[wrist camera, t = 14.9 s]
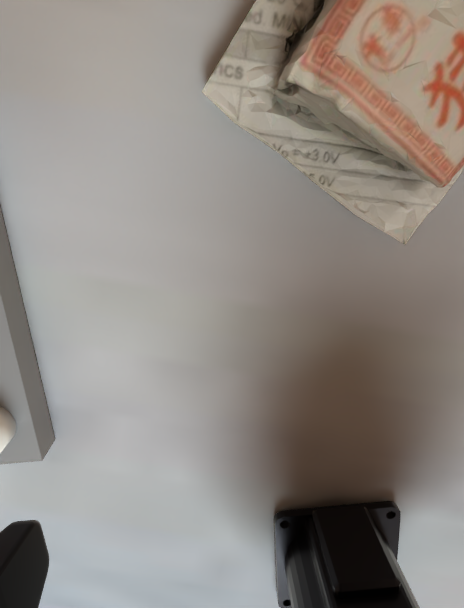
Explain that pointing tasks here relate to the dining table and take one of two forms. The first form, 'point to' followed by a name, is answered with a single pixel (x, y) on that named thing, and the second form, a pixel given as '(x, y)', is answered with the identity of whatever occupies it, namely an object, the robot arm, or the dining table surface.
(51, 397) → the dining table surface
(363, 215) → the packaged product
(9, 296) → the breaker panel
